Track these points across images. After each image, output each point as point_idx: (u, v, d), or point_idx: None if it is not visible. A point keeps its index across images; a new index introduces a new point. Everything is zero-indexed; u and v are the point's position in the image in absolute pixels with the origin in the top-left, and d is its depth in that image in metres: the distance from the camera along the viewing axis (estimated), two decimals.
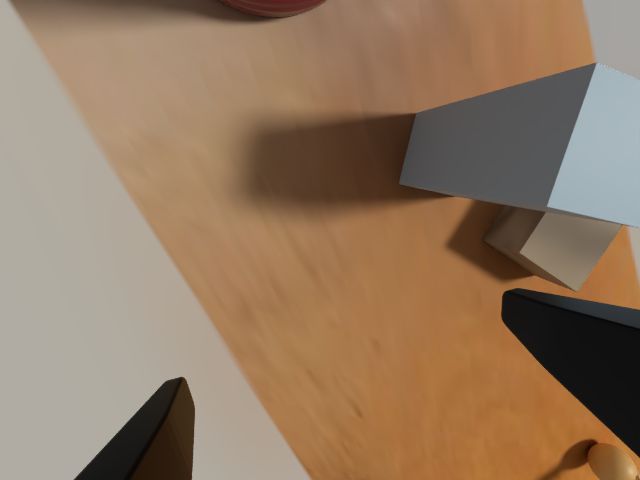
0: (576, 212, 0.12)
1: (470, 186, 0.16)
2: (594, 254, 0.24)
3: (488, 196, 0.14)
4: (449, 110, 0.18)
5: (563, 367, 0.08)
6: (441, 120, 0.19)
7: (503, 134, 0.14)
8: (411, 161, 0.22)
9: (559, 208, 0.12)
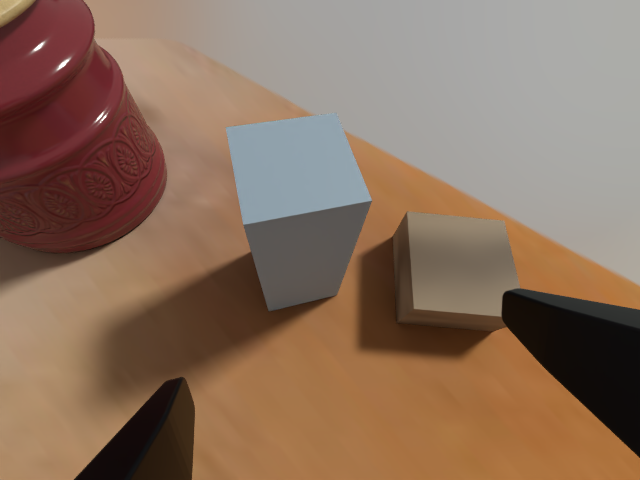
0: (284, 216, 0.12)
1: None
2: (505, 271, 0.21)
3: None
4: None
5: (563, 367, 0.08)
6: None
7: None
8: None
9: (260, 220, 0.12)
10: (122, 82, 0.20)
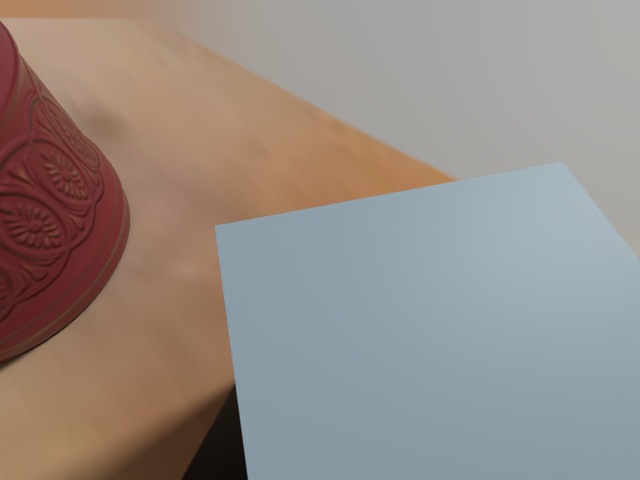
0: None
1: None
2: None
3: None
4: None
5: None
6: None
7: None
8: None
9: None
10: (13, 75, 0.10)
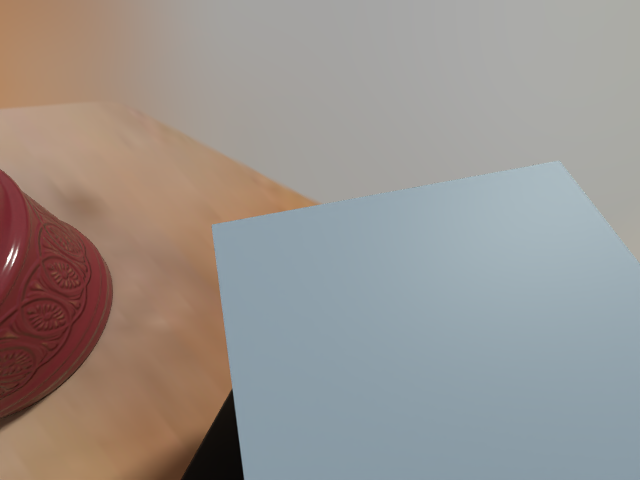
0: None
1: None
2: None
3: None
4: None
5: None
6: None
7: None
8: None
9: None
10: (27, 224, 0.15)
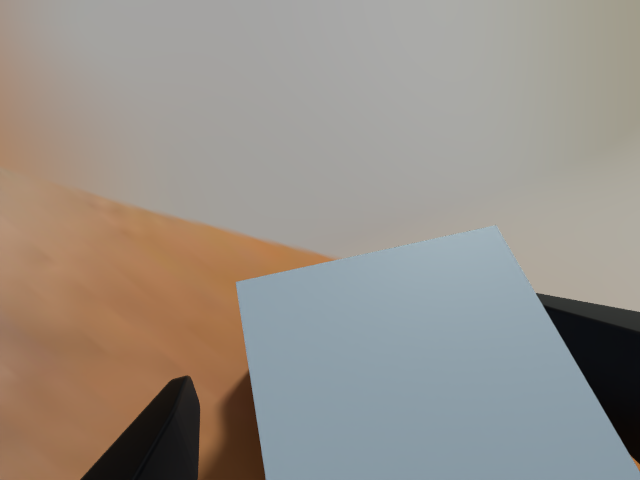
0: None
1: None
2: None
3: None
4: None
5: None
6: None
7: None
8: None
9: None
10: None
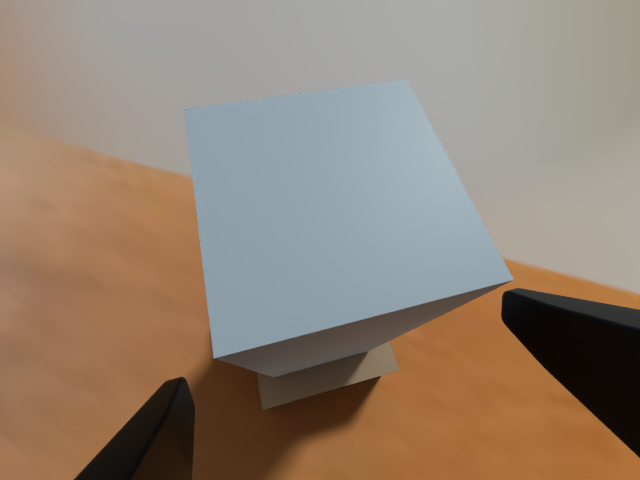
0: (314, 329, 0.05)
1: None
2: None
3: None
4: None
5: (563, 367, 0.08)
6: None
7: None
8: None
9: (256, 344, 0.05)
10: None
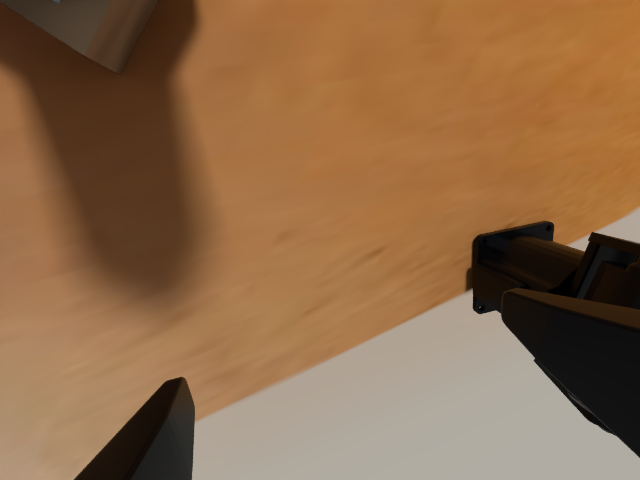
0: None
1: None
2: None
3: None
4: None
5: (563, 367, 0.08)
6: None
7: None
8: None
9: None
10: None
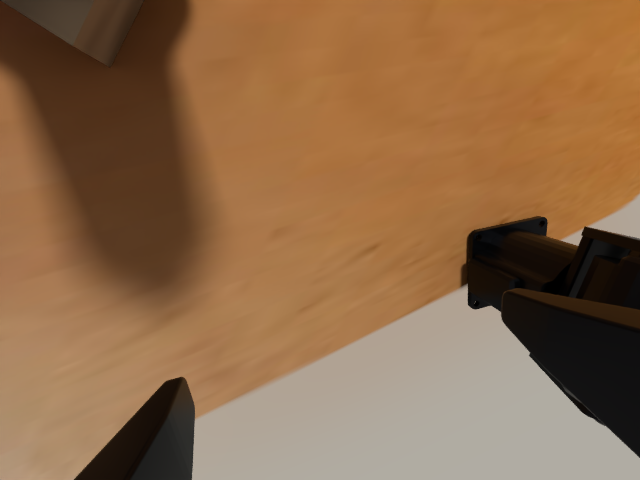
0: None
1: None
2: None
3: None
4: None
5: (563, 367, 0.08)
6: None
7: None
8: None
9: None
10: None
